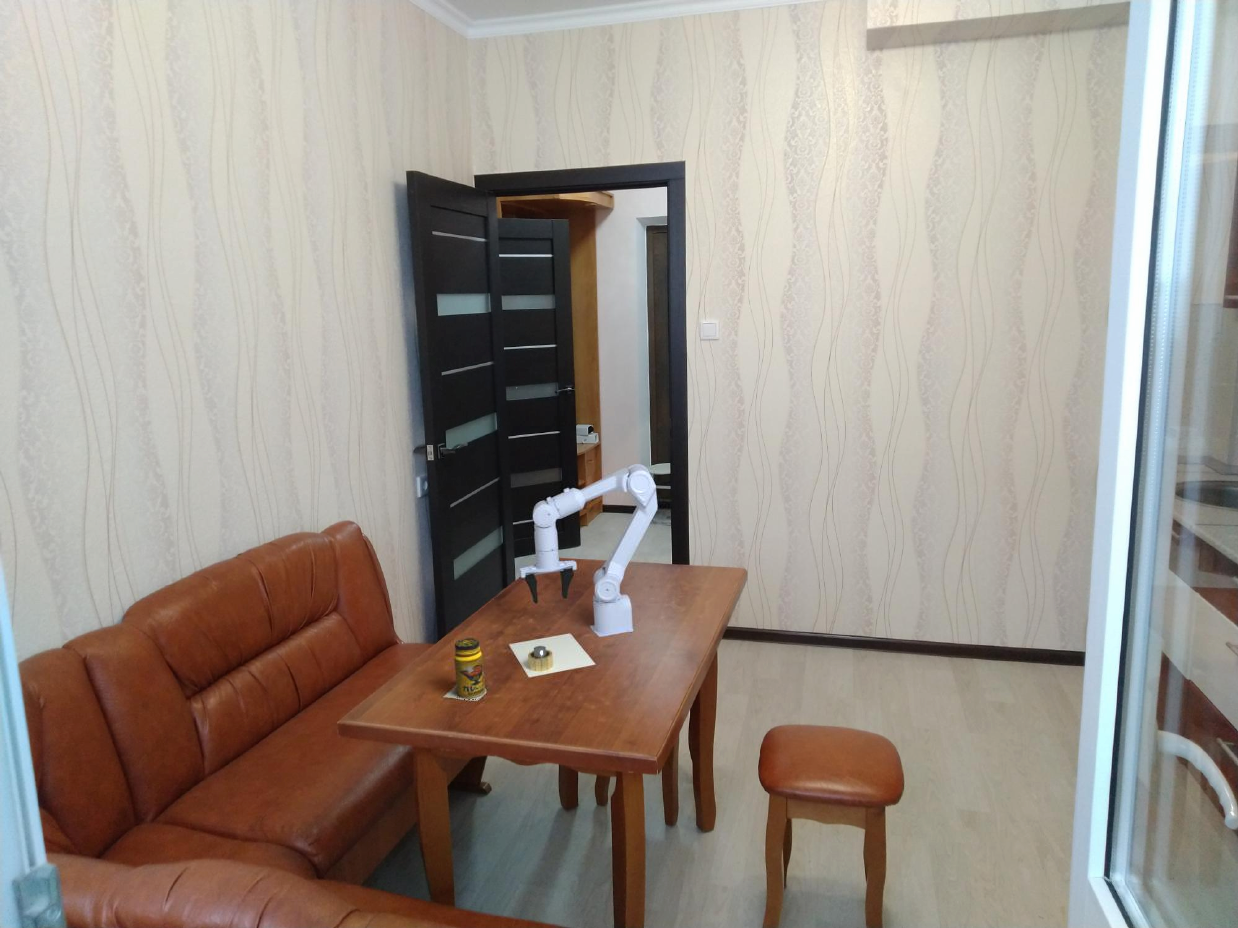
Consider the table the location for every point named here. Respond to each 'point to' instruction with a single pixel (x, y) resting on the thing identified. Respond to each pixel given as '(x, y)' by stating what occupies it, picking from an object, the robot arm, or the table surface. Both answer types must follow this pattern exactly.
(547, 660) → the ring
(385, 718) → the table surface
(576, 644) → the mat
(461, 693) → the condiment
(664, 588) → the table surface
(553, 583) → the table surface
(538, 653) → the piston
